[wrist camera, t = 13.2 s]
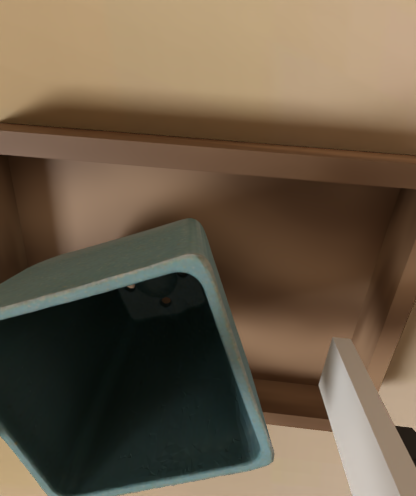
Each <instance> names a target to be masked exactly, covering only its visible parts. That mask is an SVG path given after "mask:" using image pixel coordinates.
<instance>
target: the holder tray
mask: <svg viewBox="0 0 416 496" xmlns="http://www.w3.org/2000/svg"><path fill="white" fill-rule="evenodd" d="M186 218H193V219H196V220H197V221H199V222H200V223H201V225H202V226H203V228H204V231H205V233H206V236H207V239H208V242H209V245H210V248H211V252H212V255H213V258H214V261H215V264H216V267H217V270H218V273H219V276H220V279H221V282H222V285H223V288H224V291H225V294H226V298H227V301H228V304H229V307H230V310H231V313H232V316H233V319H234V322H235V325H236V328H237V331H238V334H239V337H240V340H241V343H242V346H243V349H244V352H245V355H246V358H247V360H248V364H249V367H250V370H251V374H252V377H253V381H254V384H255V387H256V391H257V394H258V398H259V401H260V405H261V408H262V412H263V415H264V419H265V422H266V424H271V425H279V426H288V427H296V428H305V429H313V430H322V431H330V432H333V431H332V428H331V424H330V421H329V418H328V415H327V411H326V408H325V405H324V402H323V398H322V395H321V392H320V388H319V382H320V378H321V375H322V371H323V368H324V364H325V361H326V357H327V354H328V350H329V347H330V343H331V340H332V337H336V338H346V339H351V341H352V342H353V344H354V346H355V348H356V350H357V352H358V354H359V356H360V358H361V360H362V362H363V364H364V366H365V368H366V370H367V372H368V374H369V376H370V378H371V380H372V382H373V384H374V386H375V388H376V390H377V392H378V391H379V389H380V386H381V384H382V381H383V379H384V376H385V374H386V371H387V369H388V366H389V364H390V361H391V359H392V356H393V354H394V351H395V349H396V346H397V344H398V341H399V339H400V336H401V334H402V332H403V329H404V327H405V324H406V322H407V319H408V317H409V314H410V312H411V309H412V307H413V304H414V302H415V299H416V156H414V155H401V154H389V153H376V152H364V151H351V150H338V149H326V148H313V147H301V146H288V145H275V144H263V143H250V142H238V141H225V140H212V139H200V138H187V137H175V136H162V135H149V134H137V133H124V132H112V131H99V130H86V129H74V128H61V127H49V126H36V125H23V124H11V123H0V284H1V283H3V282H4V281H6V280H8V279H9V278H11V277H13V276H15V275H16V274H18V273H20V272H22V271H23V270H25V269H27V268H29V267H31V266H33V265H35V264H37V263H40V262H42V261H45V260H47V259H50V258H53V257H56V256H59V255H62V254H65V253H69V252H73V251H77V250H80V249H84V248H87V247H91V246H94V245H98V244H101V243H105V242H108V241H112V240H115V239H119V238H122V237H125V236H129V235H132V234H136V233H139V232H142V231H146V230H149V229H152V228H156V227H159V226H162V225H166V224H169V223H172V222H175V221H178V220H182V219H186ZM179 273H180V272H179ZM181 274H186V273H181ZM127 287H129V288H134V287H135V284H133V285H130V286H127ZM170 301H171V300H170V298H167V297H165V298H163V299H162V302H163V303H165V304H167V303H169V302H170Z"/></svg>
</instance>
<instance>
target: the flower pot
mask: <svg viewBox="0 0 416 496" xmlns="http://www.w3.org/2000/svg"><path fill="white" fill-rule="evenodd" d="M179 272H180V273H179ZM181 273H186V274H181ZM133 284H135V287H134V288H129V287H127V286H130V285H133ZM165 297H167V298H170V300H171V301H170V302H169V303H167V304H165V303H163V302H162V299H163V298H165ZM0 437H1V438H2V439H3V440H4V441H5V442H6V443H7V444H8V446H9V447H10V448H11V449H12V450H13V452H14V453H15V454H16V455H17V457H18V458H19V459H20V461H21V462H22V463H23V464H24V466H25V467H26V469H28V471H29V472H30V474H31V475H32V476H33V477H34V478H35V480H36V481H37V483H38V484H39V485H40V487H41V488H42V489H43V490H44V492H45V493H46V494H47V495H48V496H118V495H124V494H128V493H136V492H140V491H144V490H150V489H153V488H161V487H165V486H170V485H171V486H174V485H177V484H183V483H187V482H194V481H199V480H205V479H209V478H213V477H217V476H223V475H230V474H235V473H241V472H246V471H251V470H254V469H258V468H260V467H264V466H267V465H269V464H270V463H272V462H273V459H274V450H273V447H272V444H271V440H270V437H269V433H268V430H267V426H266V422H265V419H264V415H263V412H262V408H261V405H260V401H259V398H258V394H257V391H256V387H255V384H254V381H253V377H252V374H251V370H250V367H249V364H248V360H247V358H246V355H245V352H244V349H243V346H242V343H241V340H240V337H239V334H238V331H237V328H236V325H235V322H234V319H233V316H232V313H231V310H230V307H229V304H228V301H227V298H226V294H225V291H224V288H223V285H222V282H221V279H220V276H219V273H218V270H217V267H216V264H215V261H214V258H213V255H212V252H211V248H210V245H209V242H208V239H207V236H206V233H205V231H204V228H203V226H202V225H201V223H200V222H199V221H197V220H196V219H193V218H186V219H182V220H178V221H175V222H172V223H169V224H166V225H162V226H159V227H156V228H152V229H149V230H146V231H142V232H139V233H136V234H132V235H129V236H125V237H122V238H119V239H115V240H112V241H108V242H105V243H101V244H98V245H94V246H91V247H87V248H84V249H80V250H77V251H73V252H69V253H65V254H62V255H59V256H56V257H53V258H50V259H47V260H45V261H42V262H40V263H37V264H35V265H33V266H31V267H29V268H27V269H25V270H23V271H22V272H20V273H18V274H16V275H15V276H13V277H11V278H9V279H8V280H6V281H4V282H3V283H1V284H0Z"/></svg>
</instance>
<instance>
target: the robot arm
mask: <svg viewBox="0 0 416 496" xmlns="http://www.w3.org/2000/svg"><path fill="white" fill-rule="evenodd" d="M319 388H320V392H321V395H322V398H323V402H324V405H325V408H326V411H327V415H328V418H329V421H330V424H331V428H332V431H333V434H334V438H335V441H336V444H337V447H338V451H339V454H340V457H341V460H342V464H343V467H344V470H345V474H346V477H347V480H348V483H349V487H350V490H351V493H352V496H416V432H415V431H414V430H413V429H412V428H409V427H400V426H395V425H394V423H393V421H392V419H391V417H390V415H389V413H388V411H387V409H386V408H385V406H384V404H383V402H382V400H381V398H380V396H379V394H378V392H377V390H376V388H375V386H374V384H373V382H372V380H371V378H370V376H369V374H368V372H367V370H366V368H365V366H364V364H363V362H362V360H361V358H360V356H359V354H358V352H357V350H356V348H355V346H354V344H353V342H352V341H351V339H346V338H336V337H332V340H331V343H330V347H329V350H328V354H327V357H326V361H325V364H324V368H323V371H322V375H321V378H320V382H319Z"/></svg>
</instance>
